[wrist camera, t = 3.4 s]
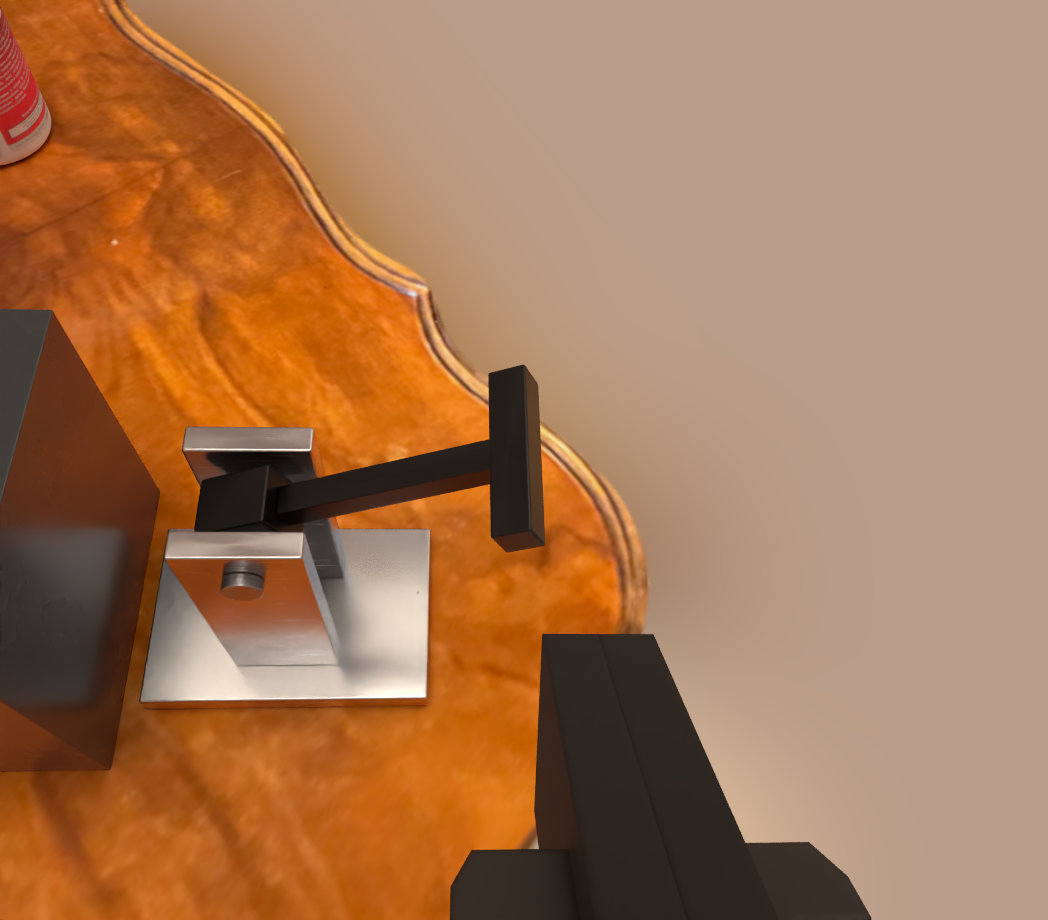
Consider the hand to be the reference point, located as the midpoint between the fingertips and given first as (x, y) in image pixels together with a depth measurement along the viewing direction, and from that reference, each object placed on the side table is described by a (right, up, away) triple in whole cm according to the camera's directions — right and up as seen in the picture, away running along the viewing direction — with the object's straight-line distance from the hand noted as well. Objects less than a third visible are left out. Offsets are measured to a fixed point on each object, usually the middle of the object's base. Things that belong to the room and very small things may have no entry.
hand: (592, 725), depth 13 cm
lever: (-6, +2, +20) cm, 21 cm away
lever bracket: (-11, -4, +30) cm, 32 cm away
